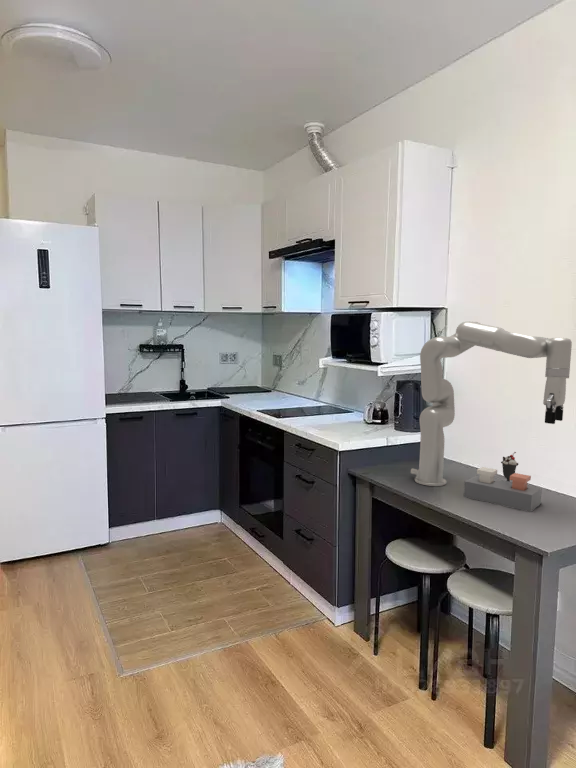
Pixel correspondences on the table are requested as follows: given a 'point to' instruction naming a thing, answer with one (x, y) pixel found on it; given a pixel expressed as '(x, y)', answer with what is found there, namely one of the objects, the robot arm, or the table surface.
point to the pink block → (519, 481)
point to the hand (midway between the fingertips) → (553, 421)
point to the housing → (503, 493)
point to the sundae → (509, 466)
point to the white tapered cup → (486, 474)
